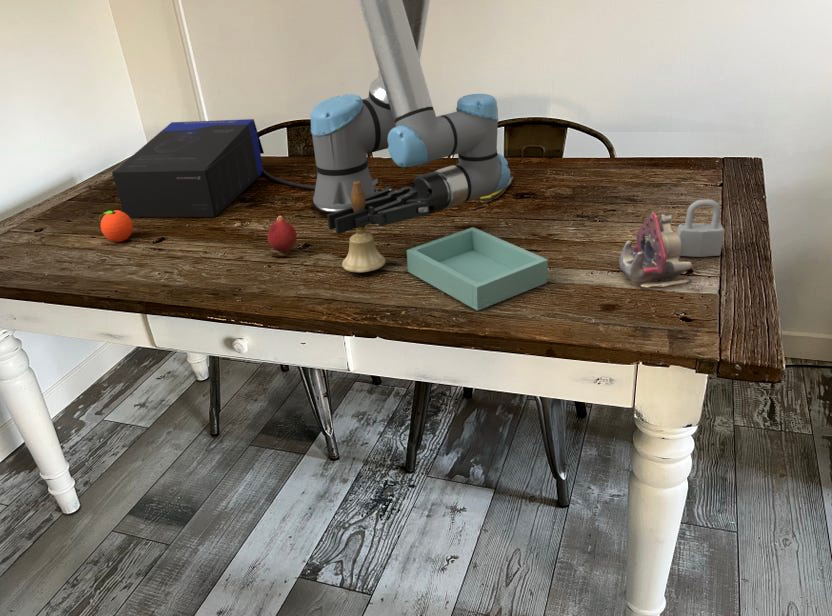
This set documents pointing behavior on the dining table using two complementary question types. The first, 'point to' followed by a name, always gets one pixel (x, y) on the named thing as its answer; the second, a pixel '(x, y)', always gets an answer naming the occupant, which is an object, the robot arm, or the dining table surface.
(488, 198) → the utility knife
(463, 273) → the open box
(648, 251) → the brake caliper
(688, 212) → the padlock
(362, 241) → the hand bell
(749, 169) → the dining table surface
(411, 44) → the robot arm
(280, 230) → the onion
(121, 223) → the clementine
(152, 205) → the headphone box
